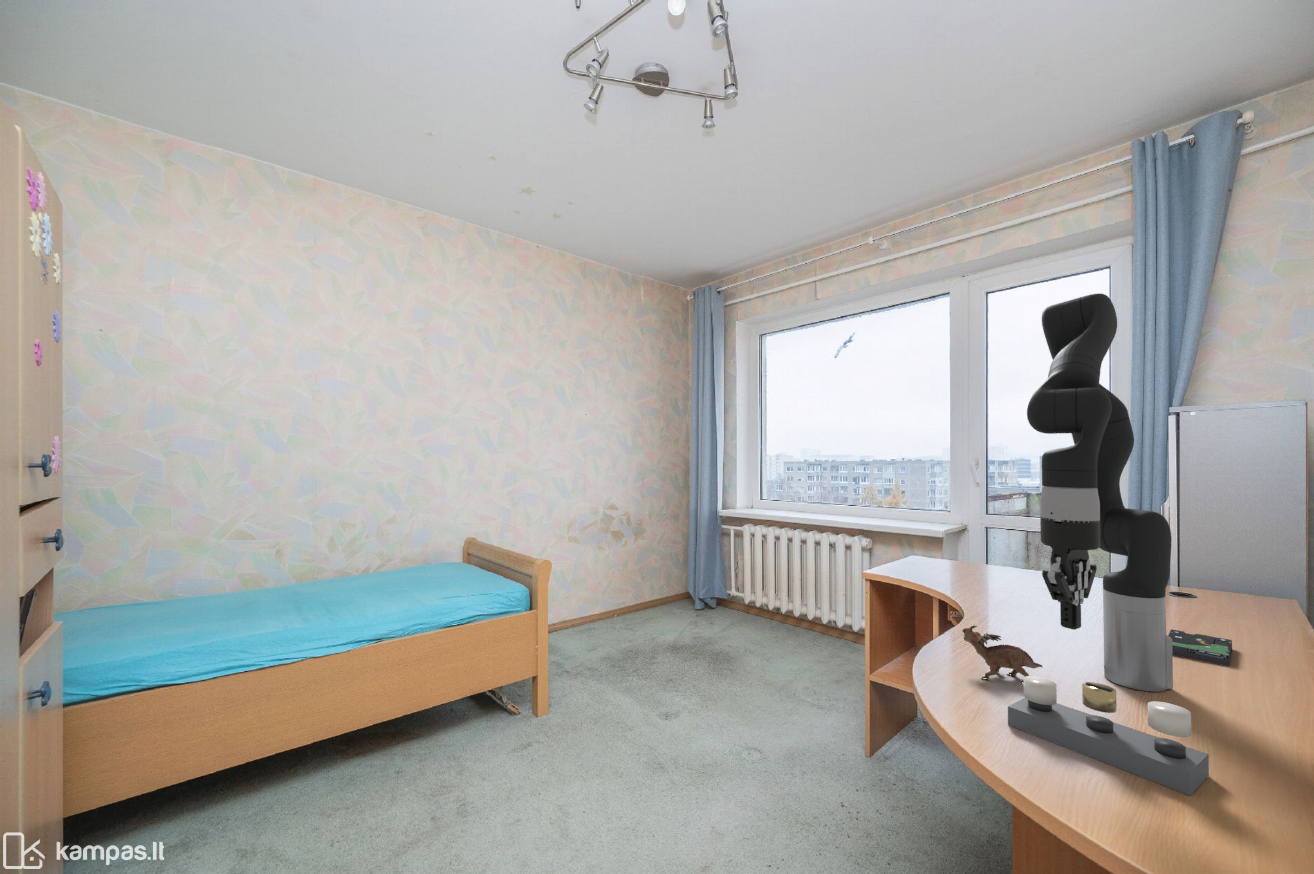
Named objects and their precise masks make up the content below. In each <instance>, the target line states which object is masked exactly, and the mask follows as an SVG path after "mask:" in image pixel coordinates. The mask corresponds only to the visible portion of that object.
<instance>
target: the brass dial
mask: <svg viewBox="0 0 1314 874" xmlns="http://www.w3.org/2000/svg"><path fill="white" fill-rule="evenodd" d="M1081 687H1082V688H1081V689H1082V695H1081V696H1082V706H1084V707H1086V708H1088V709H1090V710H1093V711H1097V712H1099V713H1100V712H1101V713H1105V714H1112V713H1113V714H1114V713H1116V712H1117V705H1118V704H1117V690H1116V688H1114V687H1112V686H1109V685H1107V684H1103V683H1099V682H1093V681H1086V682H1083V683H1082V686H1081Z"/></svg>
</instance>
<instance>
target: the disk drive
mask: <svg viewBox="0 0 1314 874" xmlns="http://www.w3.org/2000/svg"><path fill="white" fill-rule="evenodd" d="M1169 630H1170V631H1169V633H1168V635H1167V636H1169V637H1171V638H1172V654H1173V656H1175V657H1182V658H1187V659H1191V660H1196V661H1201V662H1206V663H1211V664H1215V665H1221V666H1227V667H1230V666H1231V663H1232V662H1231V659H1232V653H1233V640H1232V639H1228V638H1222V637H1215V636H1211V635H1205V634H1201V633H1195V634H1193V633H1186V632H1185V630H1183V631H1182V630H1177V629H1173V628H1172V629H1169Z"/></svg>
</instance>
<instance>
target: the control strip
mask: <svg viewBox="0 0 1314 874" xmlns="http://www.w3.org/2000/svg"><path fill="white" fill-rule="evenodd" d="M1007 725H1008V726H1009V725H1011V726H1010V727H1013V728H1015V727H1016V729H1018V730H1020V731H1023V732H1025V733H1028V734H1031V735H1033V736H1036V737H1038V738H1041V739H1042V740H1043V739H1044V740H1046V741H1048V742H1051V743H1054V744H1056V745H1059V746H1060V747H1063V748H1066V749H1068V750H1072V751H1074V752H1076V753H1078V754H1082V755H1084V756H1086V757H1087V756H1088V757H1090V758H1092V759H1095V760H1096V761H1097V760H1098V761H1100V762H1102V763H1105V764H1107V763H1108V765H1110V766H1113V767H1115V768H1117V769H1121V770H1123V771H1125V772H1127V773H1131V774H1134V775H1136V776H1139V777H1141V778H1144V779H1146V780H1149V781H1151V782H1154V783H1157V784H1160V785H1162V786H1165V787H1166V788H1170V789H1172V790H1175V791H1177V792H1179V793H1183V794H1185V795H1188V796H1191V795H1193V794H1194V793H1195V791H1196V790H1198V789H1199V787H1200V786H1201V785H1202V784H1203V783H1204V782H1205V781H1206V780H1207V779H1208V778H1207V777H1208V776H1209V777H1210V768H1209V767H1210V763H1209V761H1210V760H1209V759H1210V757H1209V753H1208V752H1207V753H1206V752H1204V751H1201V750H1199V749H1198V750H1197V749H1195V748H1192V747H1188V746H1186V745H1185V744H1182V743H1180V742H1179V741H1176V740H1173V739H1170V738H1165V737H1159V736H1156V735H1152V734H1149V733H1147V732H1144V731H1141V730H1137V729H1136V728H1132V727H1129V726H1126V725H1123V724H1120V723H1117V722H1115V721H1112V720H1111V719H1110V718H1107V717H1105V716H1100V715H1097V714H1090V713H1087V712H1084V711H1081V710H1078V709H1075V708H1073V707H1070V706H1066V705H1063V704H1060V703H1058V702H1057V703H1056V704H1055V705H1043V704H1038V703H1034V702H1032V701H1029V700H1027V699H1026V698H1025V697H1024V698H1021V699H1020V700H1017V701H1016V702H1014V703H1012V704H1011V703H1010V704H1009V705H1008V706H1007ZM1205 779H1206V780H1205Z"/></svg>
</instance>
